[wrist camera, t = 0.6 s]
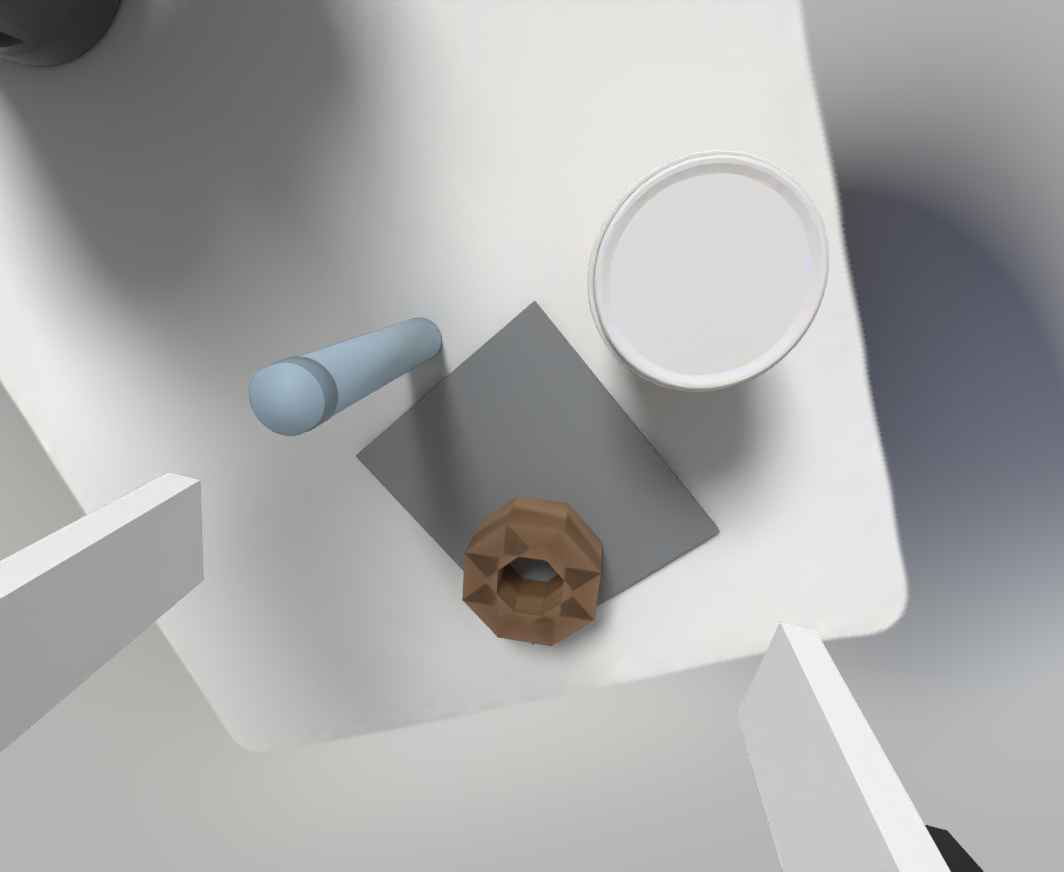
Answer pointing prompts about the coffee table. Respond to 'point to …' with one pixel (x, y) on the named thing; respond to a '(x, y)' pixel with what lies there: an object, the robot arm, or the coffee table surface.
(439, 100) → the coffee table surface
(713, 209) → the coffee cup
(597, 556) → the bead
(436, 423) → the mat
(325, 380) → the blue rounded-end rod
